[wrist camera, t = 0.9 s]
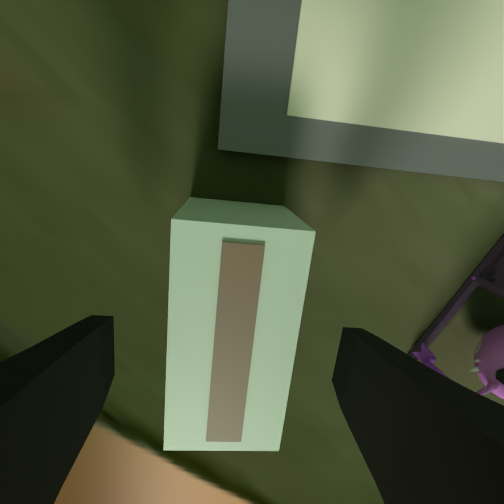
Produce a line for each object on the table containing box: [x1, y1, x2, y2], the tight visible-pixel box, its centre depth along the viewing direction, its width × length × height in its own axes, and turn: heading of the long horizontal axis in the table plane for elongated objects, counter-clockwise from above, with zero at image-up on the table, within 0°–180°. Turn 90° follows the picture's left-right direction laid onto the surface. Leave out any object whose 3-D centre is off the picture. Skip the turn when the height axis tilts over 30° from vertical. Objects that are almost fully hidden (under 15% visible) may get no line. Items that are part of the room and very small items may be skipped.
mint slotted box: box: [164, 197, 316, 451], centre depth 12 cm, size 4×8×5 cm, turn 174°
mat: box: [218, 0, 504, 182], centre depth 12 cm, size 16×11×1 cm
